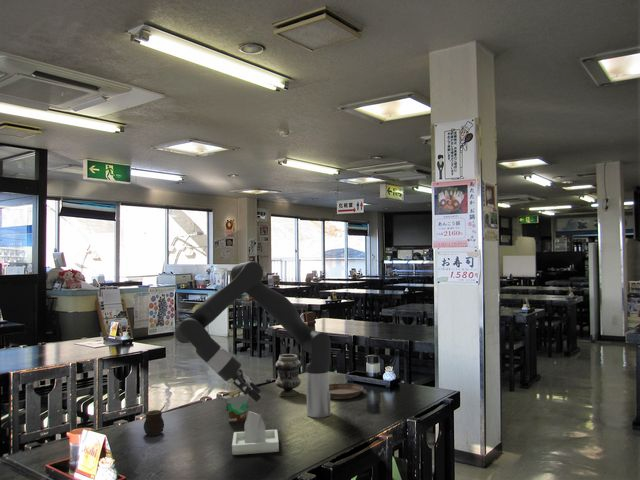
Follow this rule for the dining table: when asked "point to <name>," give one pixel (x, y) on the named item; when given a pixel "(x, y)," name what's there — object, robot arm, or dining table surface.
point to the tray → (249, 448)
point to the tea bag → (254, 428)
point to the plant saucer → (344, 390)
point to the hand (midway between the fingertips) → (258, 396)
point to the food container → (237, 407)
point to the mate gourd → (154, 422)
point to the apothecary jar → (288, 374)
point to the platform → (229, 396)
